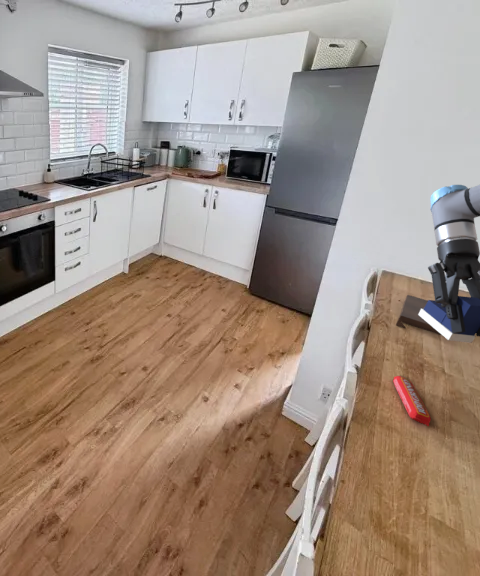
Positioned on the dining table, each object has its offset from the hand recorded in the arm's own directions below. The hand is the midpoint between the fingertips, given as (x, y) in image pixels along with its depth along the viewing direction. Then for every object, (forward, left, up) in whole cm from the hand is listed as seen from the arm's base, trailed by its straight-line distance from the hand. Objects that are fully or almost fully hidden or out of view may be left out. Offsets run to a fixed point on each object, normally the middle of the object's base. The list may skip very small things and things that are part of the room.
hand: (471, 333), depth 87 cm
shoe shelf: (-10, -37, -16) cm, 41 cm away
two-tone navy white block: (+1, -7, -3) cm, 8 cm away
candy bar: (+10, +10, -17) cm, 22 cm away
